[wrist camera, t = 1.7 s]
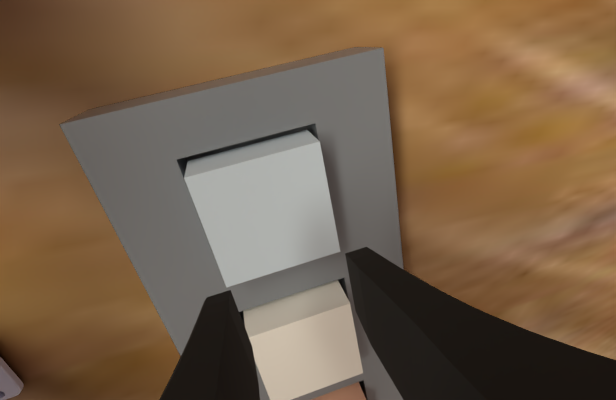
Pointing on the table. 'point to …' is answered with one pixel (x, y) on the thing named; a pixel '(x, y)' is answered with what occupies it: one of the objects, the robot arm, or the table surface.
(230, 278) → the pale blue key
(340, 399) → the terracotta key
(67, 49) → the table surface
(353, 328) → the off-white key
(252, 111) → the key console
